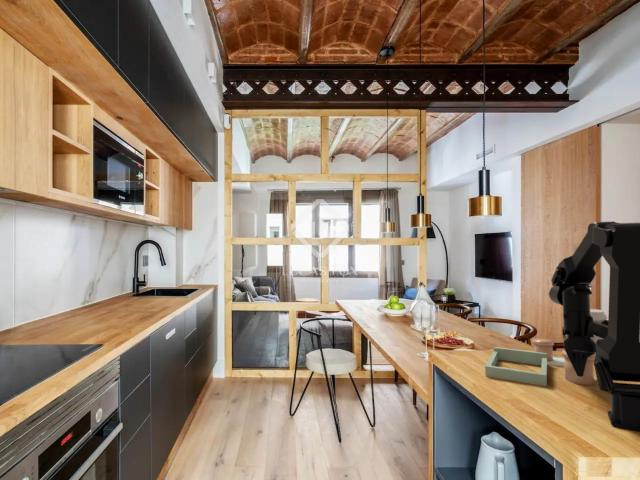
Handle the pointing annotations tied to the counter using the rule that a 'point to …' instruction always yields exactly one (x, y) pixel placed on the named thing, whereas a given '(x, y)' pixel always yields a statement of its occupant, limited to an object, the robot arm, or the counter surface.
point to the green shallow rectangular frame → (515, 374)
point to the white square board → (557, 361)
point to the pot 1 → (544, 347)
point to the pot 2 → (571, 374)
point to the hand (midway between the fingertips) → (578, 370)
